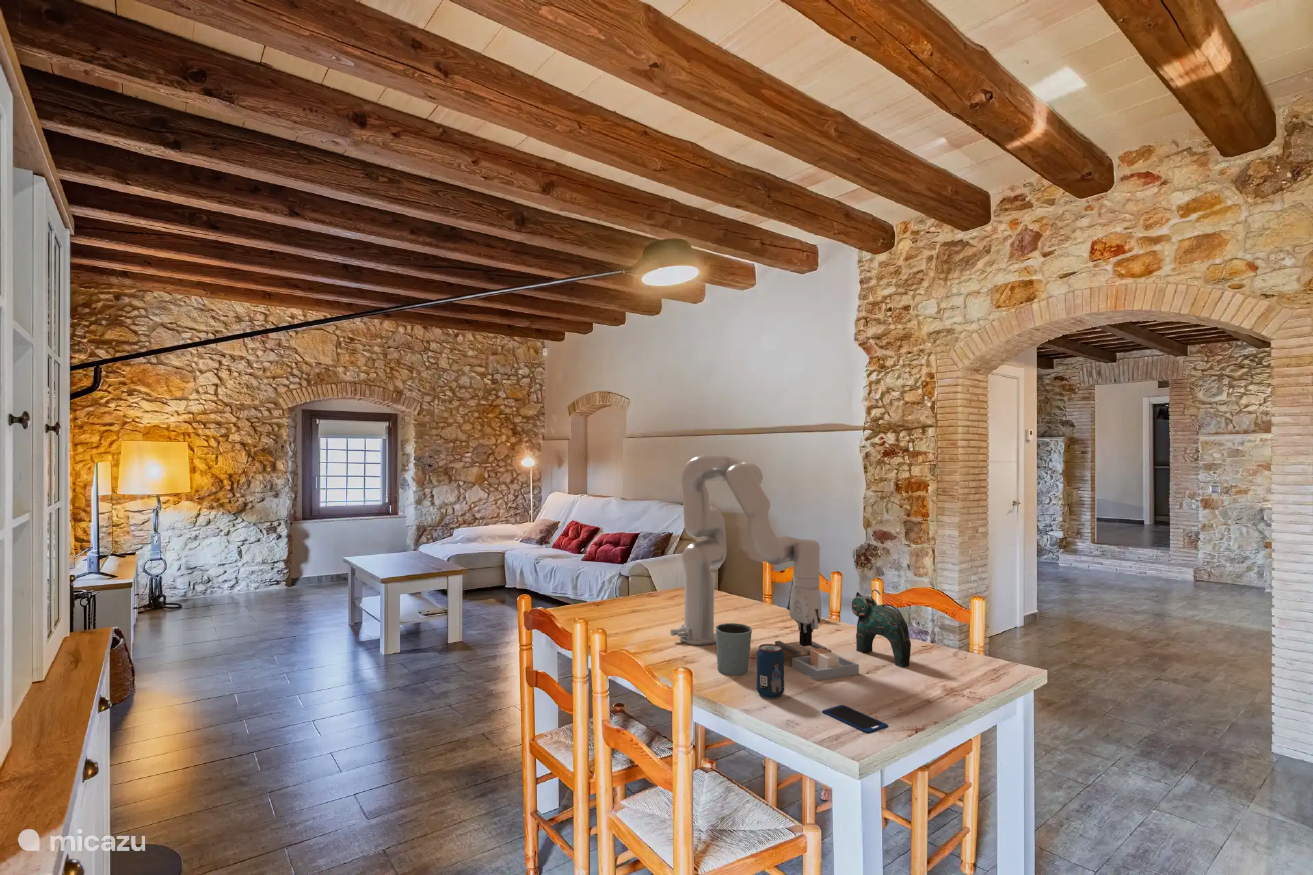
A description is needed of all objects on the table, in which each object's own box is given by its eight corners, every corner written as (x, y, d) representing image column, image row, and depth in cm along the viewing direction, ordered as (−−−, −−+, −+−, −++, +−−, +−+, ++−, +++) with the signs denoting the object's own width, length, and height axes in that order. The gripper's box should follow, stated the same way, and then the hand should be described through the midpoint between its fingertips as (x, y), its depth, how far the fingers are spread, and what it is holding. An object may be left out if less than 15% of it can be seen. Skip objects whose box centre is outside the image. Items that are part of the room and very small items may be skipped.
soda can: (765, 687, 172) (765, 641, 173) (789, 693, 168) (789, 646, 168) (751, 695, 167) (751, 647, 167) (775, 702, 163) (775, 653, 163)
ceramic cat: (849, 649, 205) (849, 585, 205) (865, 646, 208) (865, 583, 208) (900, 669, 187) (900, 598, 187) (916, 665, 190) (916, 596, 190)
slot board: (791, 666, 189) (791, 652, 189) (770, 655, 199) (770, 641, 199) (831, 660, 194) (831, 646, 194) (809, 649, 204) (809, 636, 204)
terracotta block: (818, 667, 185) (818, 653, 185) (810, 663, 189) (810, 649, 189) (830, 666, 187) (830, 651, 187) (821, 661, 191) (821, 647, 191)
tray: (816, 680, 178) (816, 670, 178) (792, 667, 188) (792, 657, 188) (858, 673, 183) (858, 664, 183) (832, 661, 194) (832, 652, 194)
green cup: (730, 662, 192) (731, 620, 192) (759, 670, 185) (759, 627, 185) (707, 670, 185) (708, 627, 185) (736, 679, 178) (736, 635, 178)
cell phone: (867, 735, 145) (867, 732, 145) (820, 713, 157) (820, 710, 157) (889, 728, 149) (889, 724, 149) (842, 707, 161) (842, 703, 161)
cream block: (818, 668, 185) (826, 672, 181) (818, 653, 185) (827, 658, 181) (829, 666, 187) (838, 671, 183) (829, 652, 187) (838, 656, 183)
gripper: (781, 578, 200) (780, 639, 199) (810, 588, 186) (809, 654, 186) (802, 576, 202) (801, 636, 202) (832, 586, 189) (832, 651, 188)
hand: (805, 644), depth 194 cm, fingers closed
